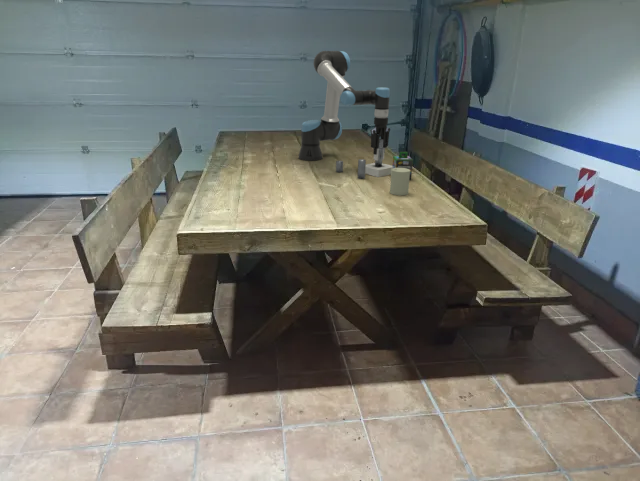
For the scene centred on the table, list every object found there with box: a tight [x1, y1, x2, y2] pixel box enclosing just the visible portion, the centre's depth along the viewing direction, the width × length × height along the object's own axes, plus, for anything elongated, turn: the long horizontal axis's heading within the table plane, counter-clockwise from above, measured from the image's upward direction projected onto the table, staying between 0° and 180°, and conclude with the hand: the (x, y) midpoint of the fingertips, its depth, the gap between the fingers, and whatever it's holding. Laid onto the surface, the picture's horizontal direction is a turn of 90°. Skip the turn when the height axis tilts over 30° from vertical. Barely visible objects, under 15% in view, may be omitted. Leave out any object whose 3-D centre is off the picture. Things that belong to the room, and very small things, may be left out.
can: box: [389, 168, 410, 196], centre depth 237 cm, size 9×9×12 cm
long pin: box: [374, 138, 384, 168], centre depth 272 cm, size 4×4×16 cm
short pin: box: [335, 160, 344, 174], centre depth 276 cm, size 4×4×6 cm
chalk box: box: [392, 151, 414, 181], centre depth 263 cm, size 9×9×15 cm
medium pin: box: [357, 158, 367, 180], centre depth 263 cm, size 4×4×10 cm
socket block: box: [365, 162, 393, 178], centre depth 276 cm, size 14×14×4 cm
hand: (378, 159), depth 273 cm, fingers closed on long pin, 4 cm apart
